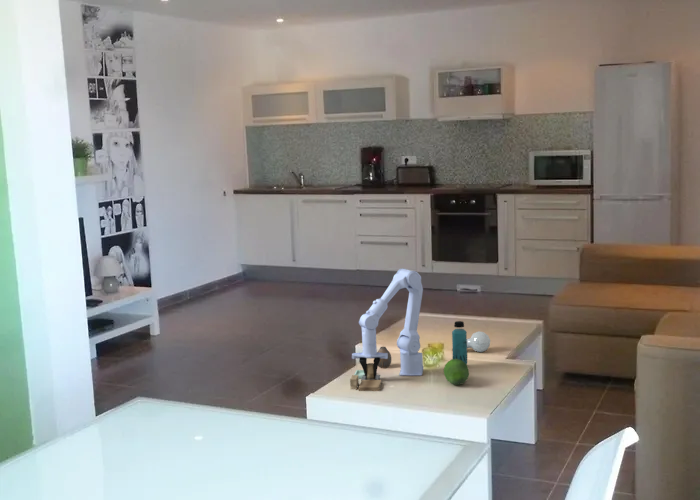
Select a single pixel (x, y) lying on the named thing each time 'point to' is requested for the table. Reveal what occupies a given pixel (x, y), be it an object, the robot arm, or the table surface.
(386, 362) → the vase
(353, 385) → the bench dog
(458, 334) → the beverage bottle
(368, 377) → the dowel
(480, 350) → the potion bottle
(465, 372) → the fruit
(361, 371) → the tray
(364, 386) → the board
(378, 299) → the robot arm
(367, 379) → the collar
